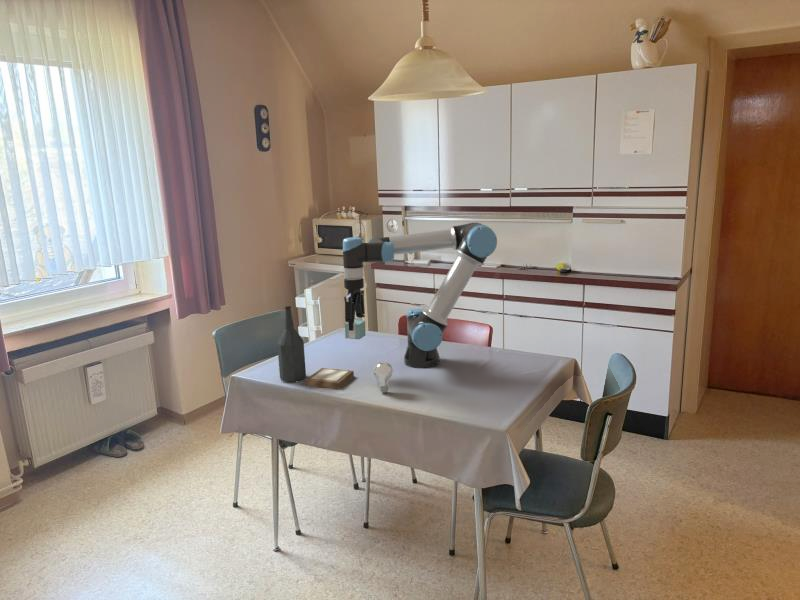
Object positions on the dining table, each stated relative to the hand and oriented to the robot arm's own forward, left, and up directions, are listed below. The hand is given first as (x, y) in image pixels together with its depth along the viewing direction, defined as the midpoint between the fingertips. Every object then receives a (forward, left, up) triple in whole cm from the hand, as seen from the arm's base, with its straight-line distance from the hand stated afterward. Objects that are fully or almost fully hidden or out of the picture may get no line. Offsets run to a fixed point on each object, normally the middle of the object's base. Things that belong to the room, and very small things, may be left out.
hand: (355, 335), depth 240 cm
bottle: (+25, +8, -17) cm, 31 cm away
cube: (0, 0, 0) cm, 0 cm away
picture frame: (+9, +7, -17) cm, 21 cm away
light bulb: (-16, +13, -17) cm, 27 cm away
